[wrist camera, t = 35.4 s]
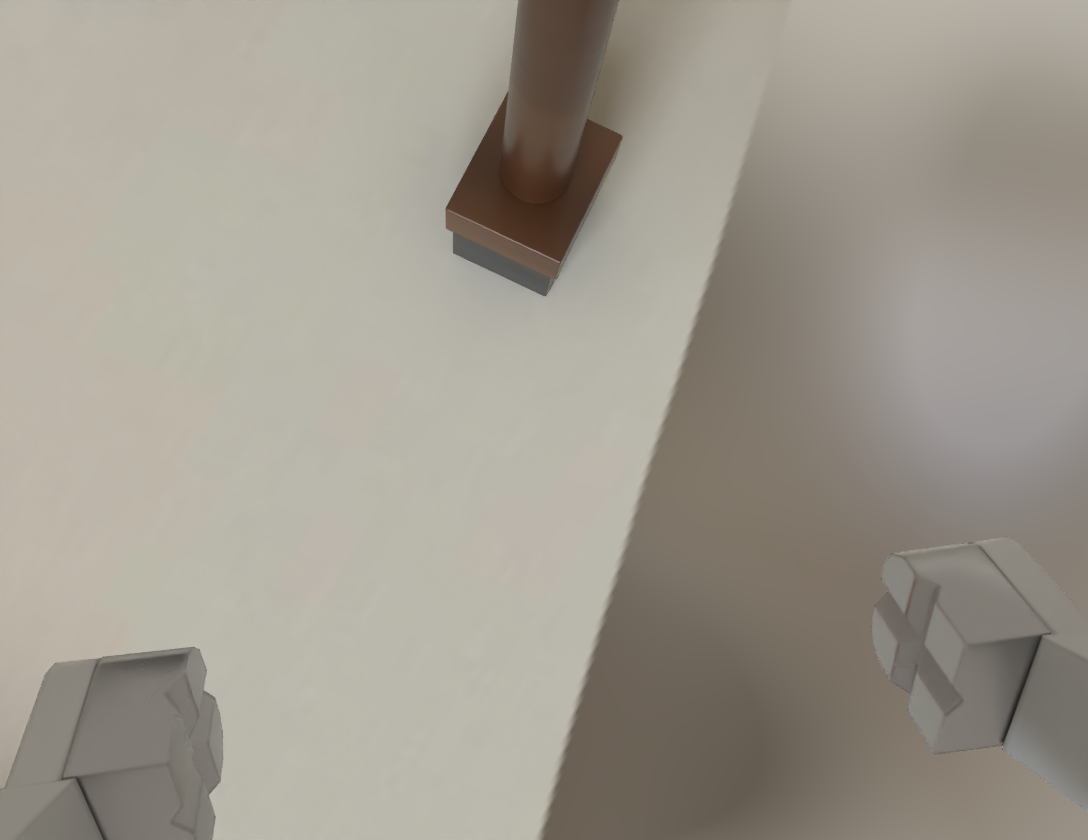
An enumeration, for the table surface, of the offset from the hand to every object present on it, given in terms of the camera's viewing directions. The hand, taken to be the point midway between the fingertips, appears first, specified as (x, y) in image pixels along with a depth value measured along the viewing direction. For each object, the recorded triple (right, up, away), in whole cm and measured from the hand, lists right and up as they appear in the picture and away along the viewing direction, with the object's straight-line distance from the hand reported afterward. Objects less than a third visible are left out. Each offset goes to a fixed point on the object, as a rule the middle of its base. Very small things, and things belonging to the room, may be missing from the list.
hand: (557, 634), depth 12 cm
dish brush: (-1, +10, +25) cm, 27 cm away
